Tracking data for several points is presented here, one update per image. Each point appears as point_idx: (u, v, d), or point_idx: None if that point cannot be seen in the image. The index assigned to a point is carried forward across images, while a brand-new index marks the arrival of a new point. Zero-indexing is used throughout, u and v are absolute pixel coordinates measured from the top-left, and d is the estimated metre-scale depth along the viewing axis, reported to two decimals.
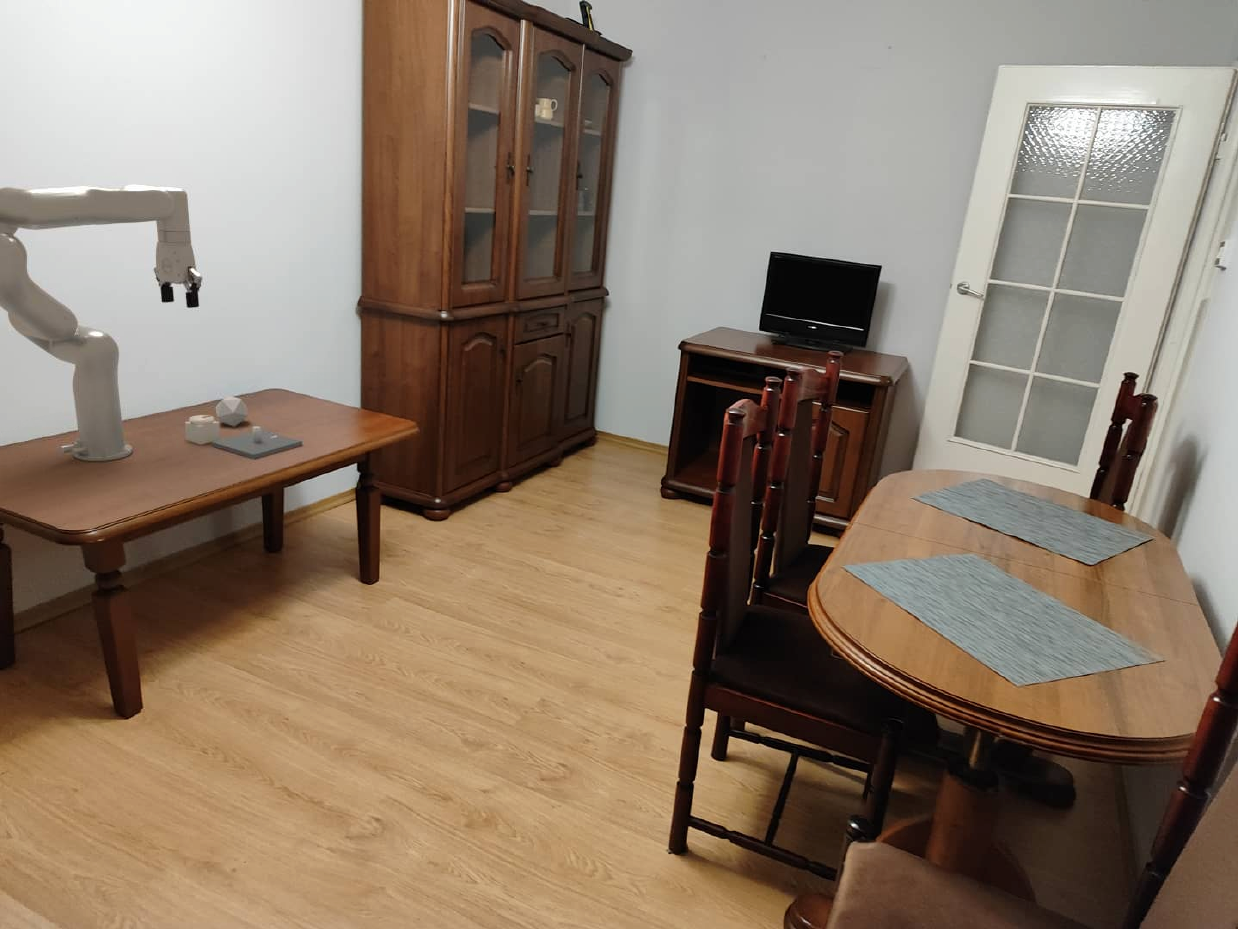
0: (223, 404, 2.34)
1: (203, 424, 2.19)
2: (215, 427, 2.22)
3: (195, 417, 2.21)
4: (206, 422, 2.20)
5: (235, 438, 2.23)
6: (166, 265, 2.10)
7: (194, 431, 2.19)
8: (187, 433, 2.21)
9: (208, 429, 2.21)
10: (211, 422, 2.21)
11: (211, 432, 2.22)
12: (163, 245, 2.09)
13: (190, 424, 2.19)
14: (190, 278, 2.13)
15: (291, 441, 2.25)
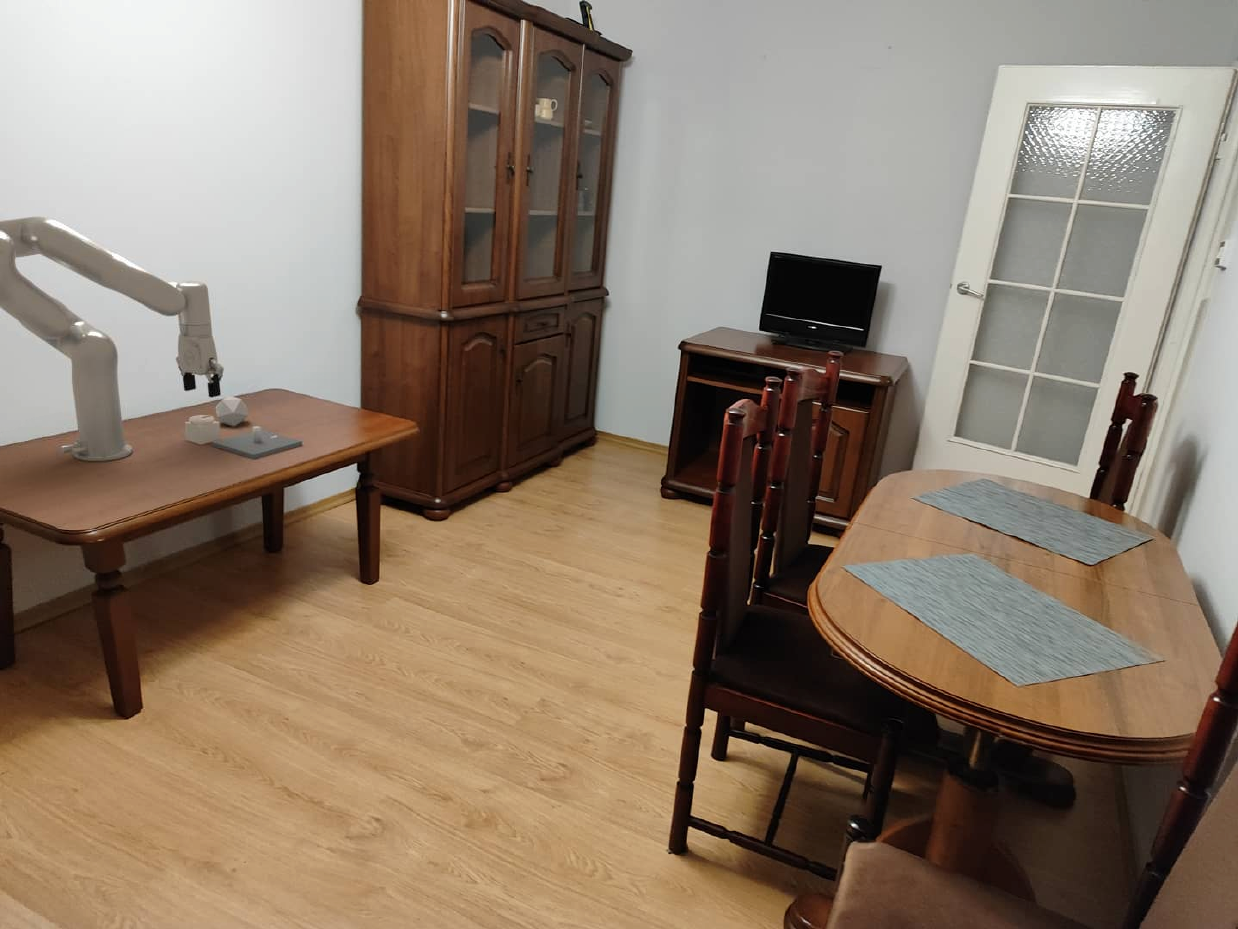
0: (223, 404, 2.34)
1: (203, 424, 2.19)
2: (215, 427, 2.22)
3: (195, 417, 2.21)
4: (206, 422, 2.20)
5: (235, 438, 2.23)
6: (188, 357, 2.14)
7: (194, 431, 2.19)
8: (187, 433, 2.21)
9: (208, 429, 2.21)
10: (211, 422, 2.21)
11: (211, 432, 2.22)
12: (185, 337, 2.13)
13: (190, 424, 2.19)
14: (212, 368, 2.17)
15: (291, 441, 2.25)
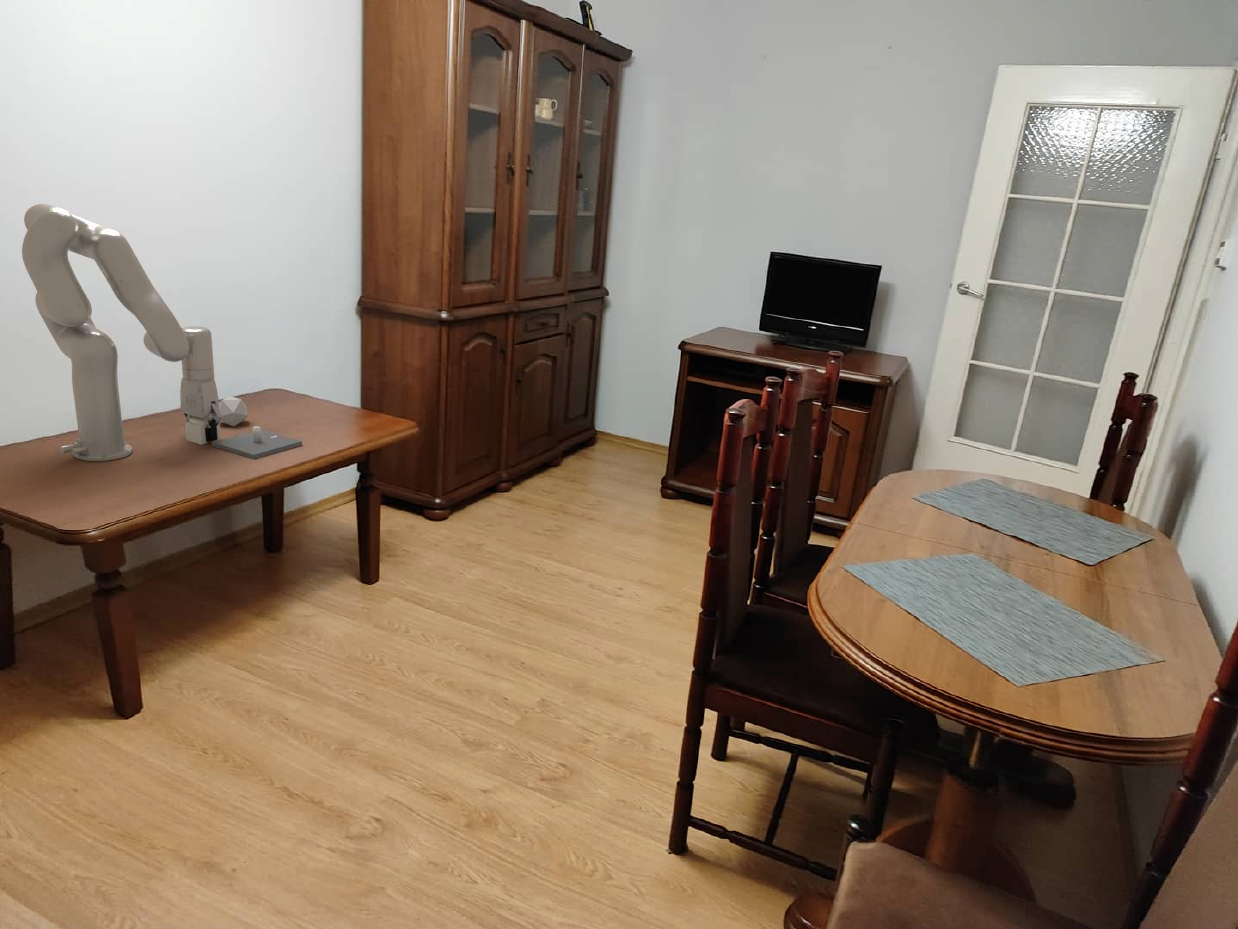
0: (223, 404, 2.34)
1: (203, 424, 2.19)
2: None
3: (195, 417, 2.21)
4: None
5: (235, 438, 2.23)
6: (190, 400, 2.17)
7: (194, 431, 2.19)
8: (187, 433, 2.21)
9: None
10: None
11: None
12: (188, 381, 2.16)
13: (190, 424, 2.19)
14: (212, 412, 2.20)
15: (291, 441, 2.25)
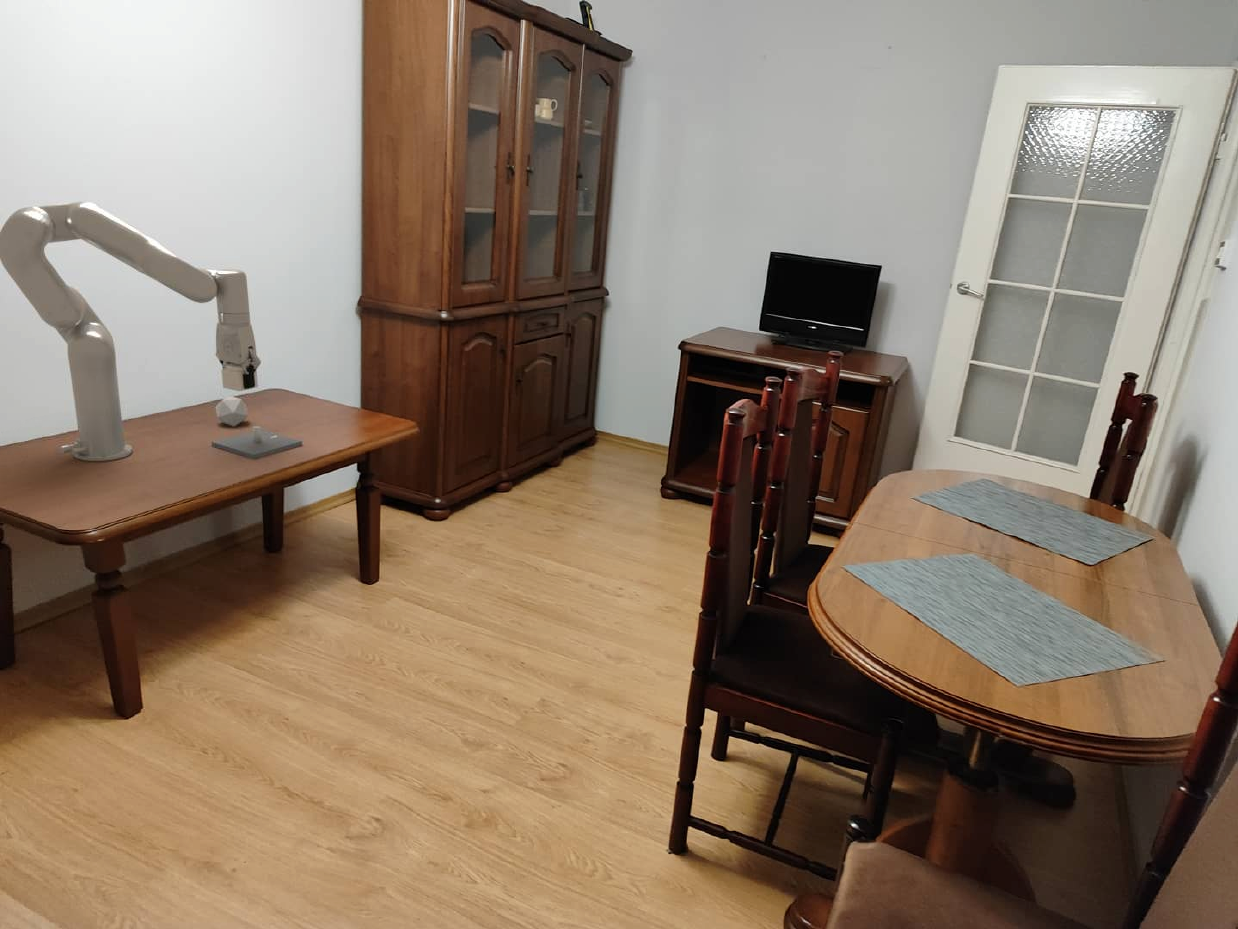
0: (223, 404, 2.34)
1: (241, 370, 2.14)
2: None
3: (232, 364, 2.16)
4: None
5: (235, 438, 2.23)
6: (227, 346, 2.12)
7: (232, 378, 2.14)
8: (224, 380, 2.16)
9: None
10: None
11: None
12: (224, 326, 2.11)
13: (227, 371, 2.15)
14: (249, 358, 2.15)
15: (291, 441, 2.25)
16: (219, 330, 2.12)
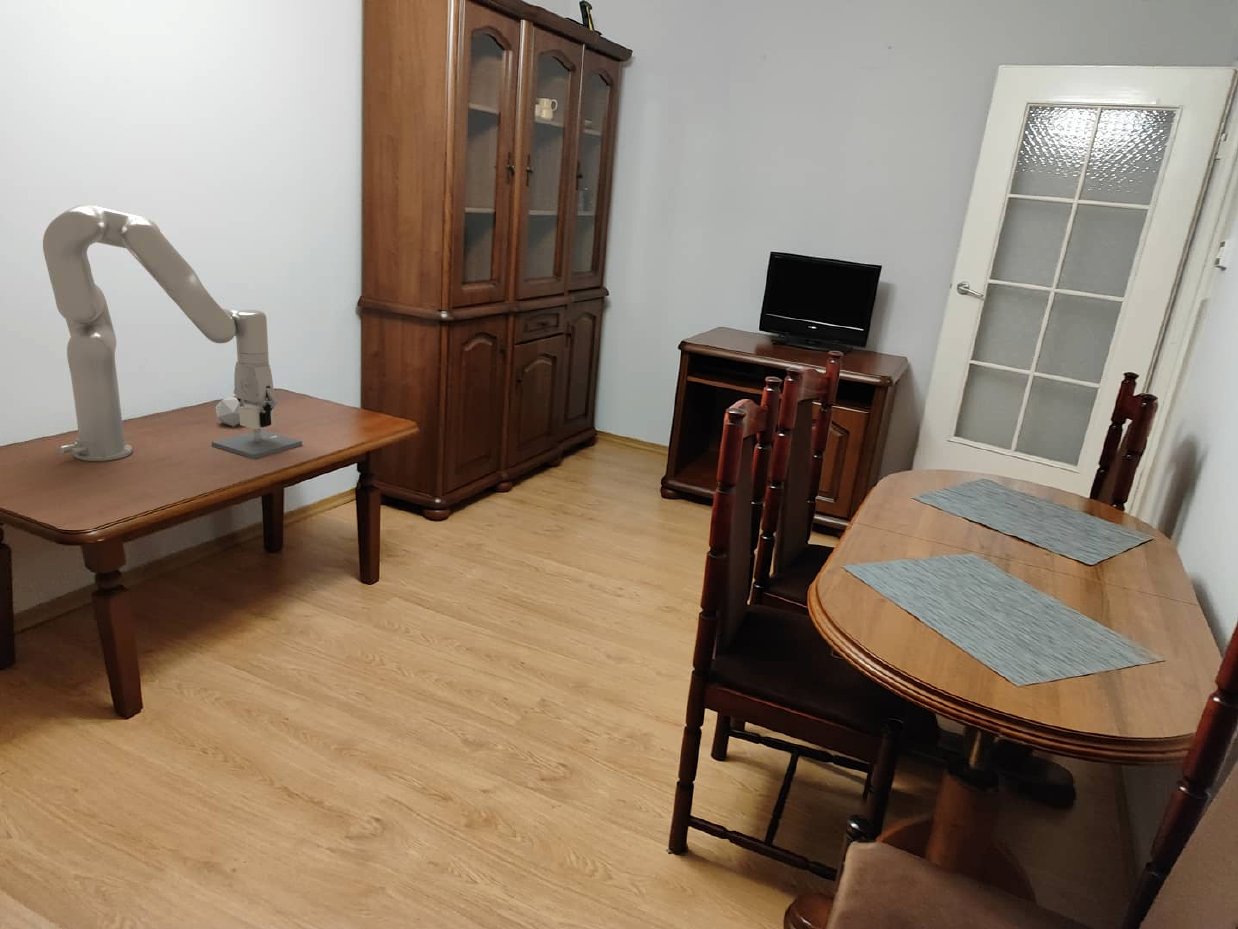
0: (223, 404, 2.34)
1: (258, 409, 2.17)
2: None
3: (249, 402, 2.19)
4: None
5: (235, 438, 2.23)
6: (245, 385, 2.15)
7: (249, 416, 2.17)
8: (241, 418, 2.19)
9: None
10: None
11: None
12: (243, 366, 2.14)
13: (245, 409, 2.17)
14: (266, 397, 2.18)
15: (291, 441, 2.25)
16: (238, 369, 2.15)
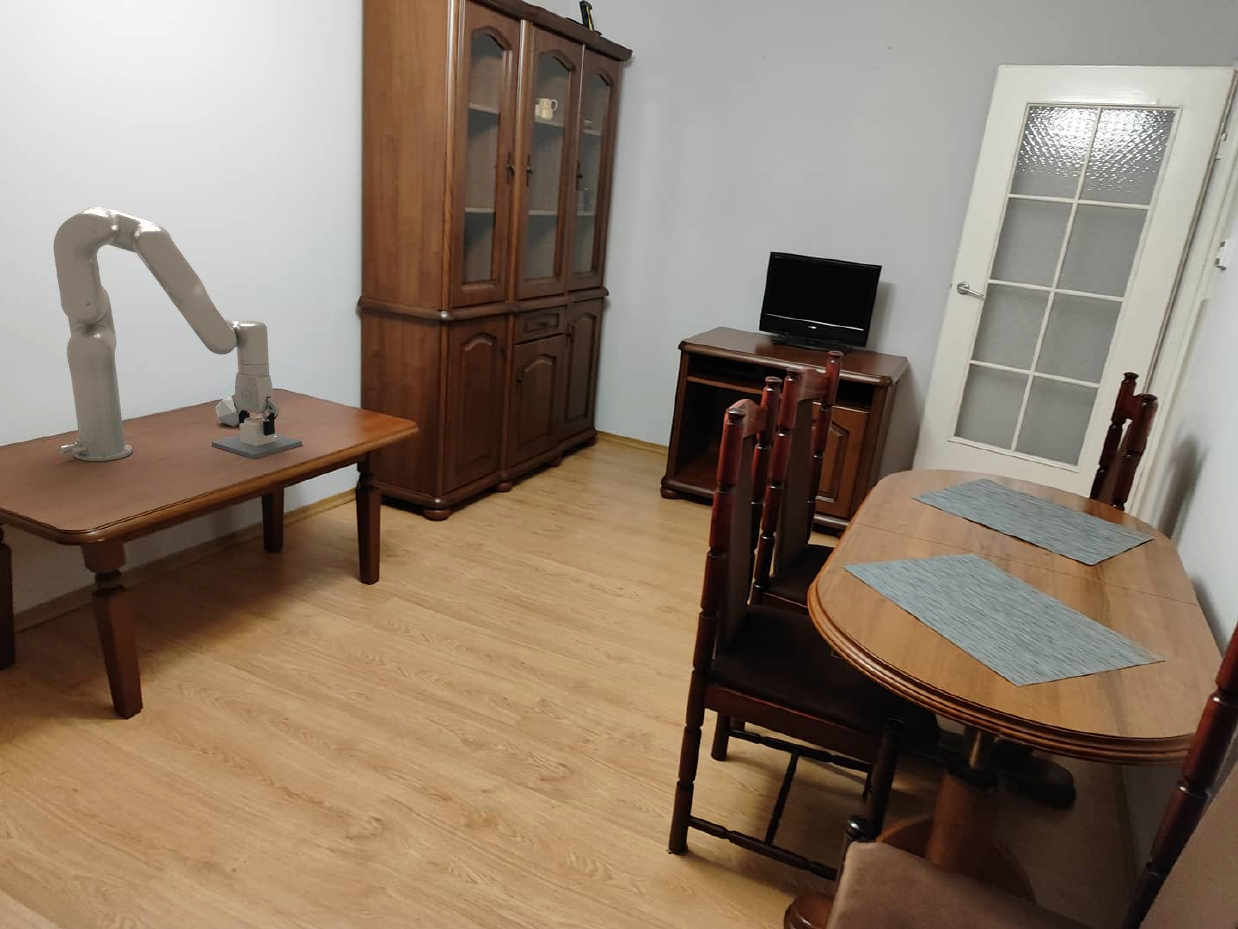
0: (223, 404, 2.34)
1: (258, 426, 2.18)
2: None
3: (250, 419, 2.20)
4: (261, 424, 2.19)
5: (235, 438, 2.23)
6: (245, 395, 2.16)
7: (249, 433, 2.18)
8: (242, 435, 2.20)
9: (263, 431, 2.20)
10: None
11: None
12: (243, 376, 2.15)
13: (245, 426, 2.19)
14: (267, 407, 2.19)
15: (291, 441, 2.25)
16: (238, 380, 2.16)
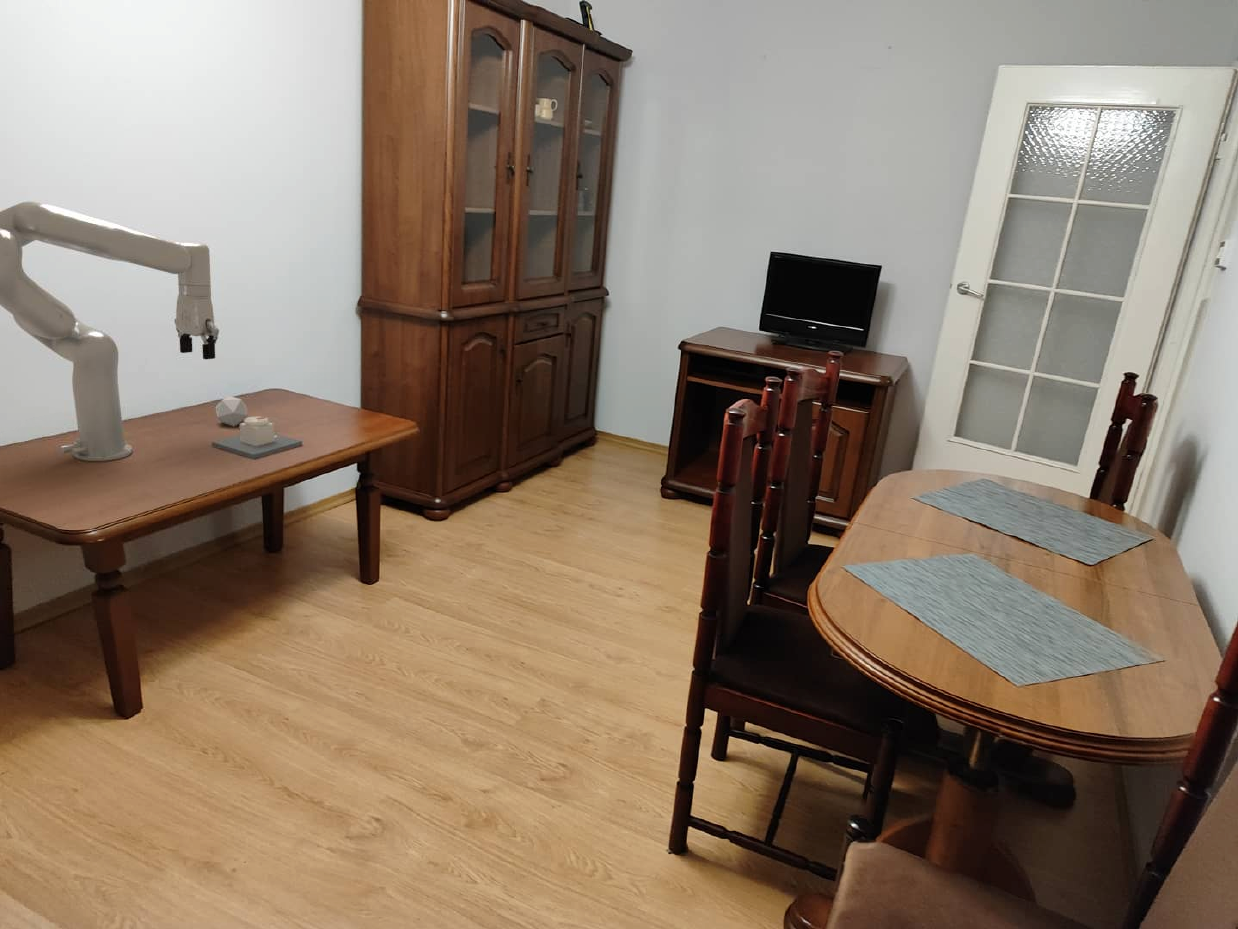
0: (223, 404, 2.34)
1: (258, 426, 2.18)
2: (270, 429, 2.21)
3: (250, 419, 2.20)
4: (261, 424, 2.19)
5: (235, 438, 2.23)
6: (185, 317, 2.14)
7: (249, 433, 2.18)
8: (242, 435, 2.20)
9: (263, 431, 2.20)
10: (266, 424, 2.20)
11: (266, 434, 2.21)
12: (184, 298, 2.13)
13: (245, 426, 2.19)
14: (208, 330, 2.16)
15: (291, 441, 2.25)
16: (179, 301, 2.14)
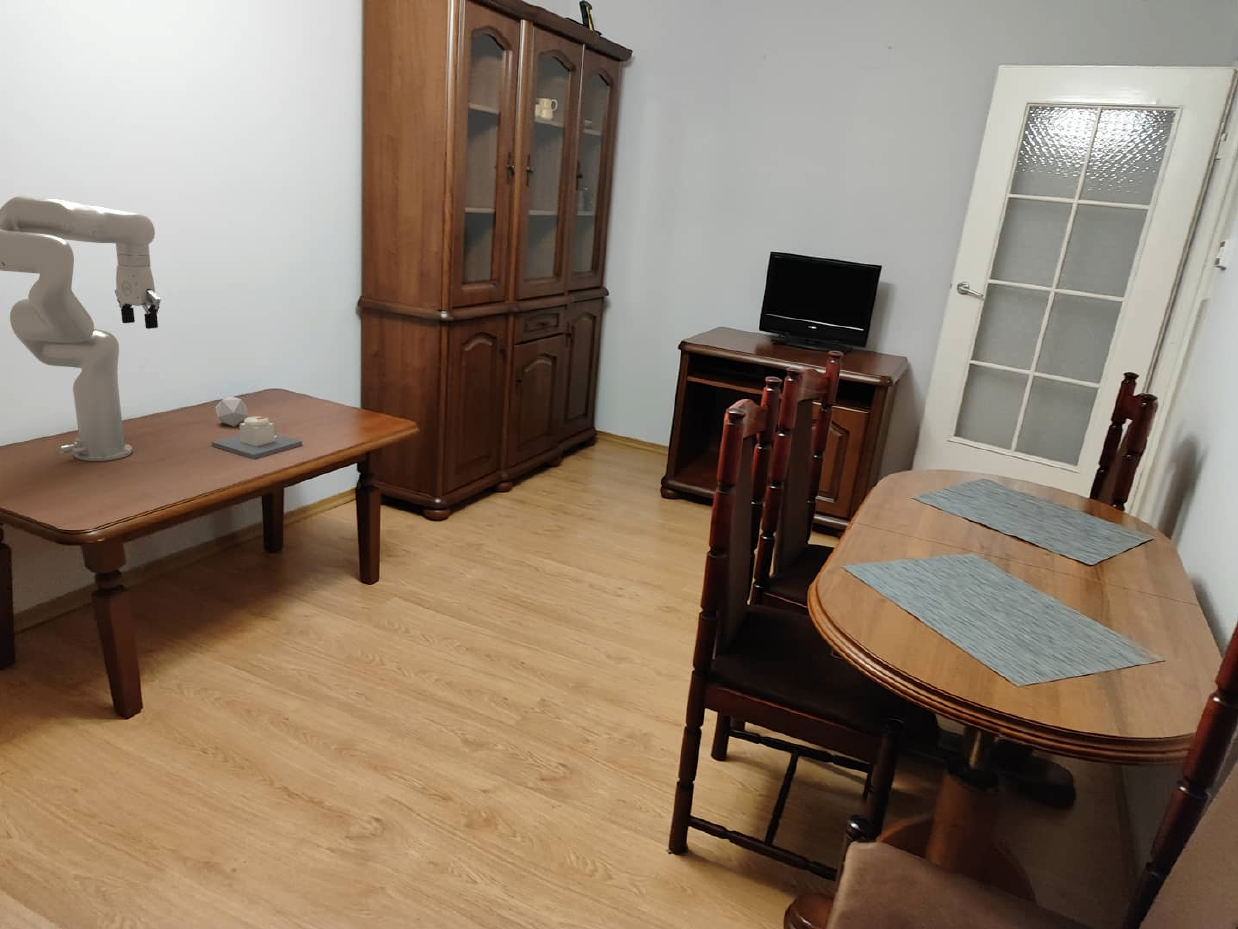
0: (223, 404, 2.34)
1: (258, 426, 2.18)
2: (270, 429, 2.21)
3: (250, 419, 2.20)
4: (261, 424, 2.19)
5: (235, 438, 2.23)
6: (125, 288, 2.16)
7: (249, 433, 2.18)
8: (242, 435, 2.20)
9: (263, 431, 2.20)
10: (266, 424, 2.20)
11: (266, 434, 2.21)
12: (123, 268, 2.15)
13: (245, 426, 2.19)
14: (149, 300, 2.19)
15: (291, 441, 2.25)
16: (119, 272, 2.16)
